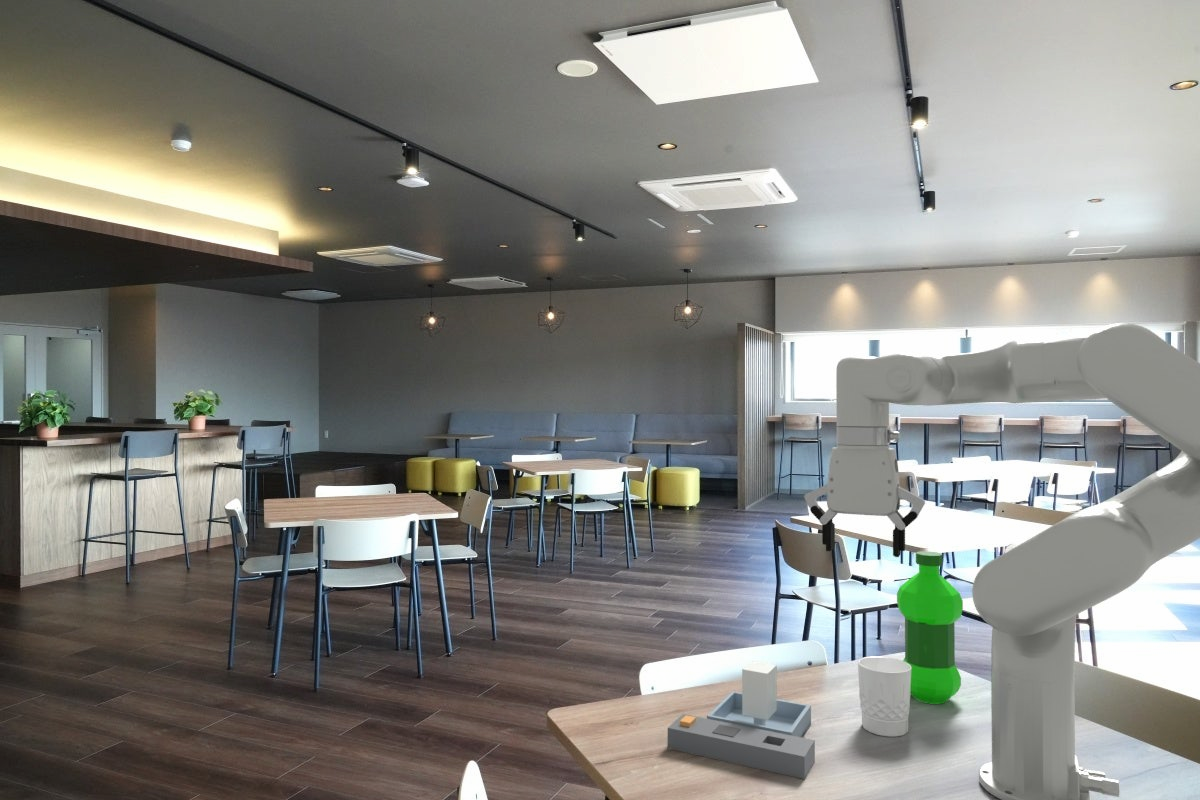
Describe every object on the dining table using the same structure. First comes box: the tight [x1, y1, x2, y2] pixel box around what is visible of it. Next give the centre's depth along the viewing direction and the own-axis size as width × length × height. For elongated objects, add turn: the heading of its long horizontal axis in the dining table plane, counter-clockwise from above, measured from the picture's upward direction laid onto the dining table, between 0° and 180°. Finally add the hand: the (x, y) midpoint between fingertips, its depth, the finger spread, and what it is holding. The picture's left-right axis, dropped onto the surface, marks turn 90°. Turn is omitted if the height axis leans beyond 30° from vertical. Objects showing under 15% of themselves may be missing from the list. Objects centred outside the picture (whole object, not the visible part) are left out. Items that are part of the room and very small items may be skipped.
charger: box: [741, 660, 778, 726], centre depth 120 cm, size 4×5×9 cm
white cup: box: [857, 655, 912, 738], centre depth 121 cm, size 8×8×10 cm
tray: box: [706, 690, 812, 738], centre depth 120 cm, size 13×12×3 cm
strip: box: [667, 713, 816, 780], centre depth 111 cm, size 20×6×4 cm, turn 62°
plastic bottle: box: [896, 550, 964, 705], centre depth 134 cm, size 10×10×25 cm
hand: (863, 552), depth 116 cm, fingers open, 9 cm apart
